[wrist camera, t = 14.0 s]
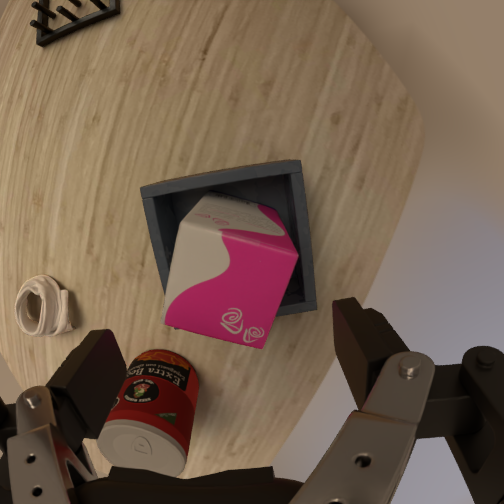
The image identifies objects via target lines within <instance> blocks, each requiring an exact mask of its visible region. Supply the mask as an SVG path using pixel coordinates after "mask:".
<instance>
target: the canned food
mask: <svg viewBox="0 0 504 504" xmlns="http://www.w3.org/2000/svg"><path fill="white" fill-rule="evenodd" d="M198 391H199V383H198V378H197V375H196V372H195V370H194V369H193V367H192V366H191V365H190V363H189V362H188V361H187V360H185V359H184V358H183V357H181V356H179V355H178V354H176V353H173V352H170V351H166V350H156V349H155V350H149V351H146V352H144V353H142V354H141V355H139V356H138V357H136V358H135V359H134V360H133V361H132V363H131V364H130V366H129V368H128V370H127V376H126V379H125V381H124V384H123V386H122V388H121V390H120V392H119V394H118V396H117V398H116V400H115V403H114V405H113V407H112V409H111V411H110V413H109V416H108V418H107V420H106V422H105V424H104V427H103V429H102V431H101V433H100V435H99V438H98V439H96V442H97V446H98V448H99V450H100V452H101V453H102V455H103V456H104V457H105V458H106V459H107V460H108V461H109V462H110V463H111V464H113V465H114V466H116V467H125V468H136V469H147V470H150V471H154V472H157V473H161V474H164V475H168V476H172V477H177V476H179V475H180V474H181V473H182V472H183V470H184V468H185V464H186V462H187V456H188V451H189V445H190V439H191V433H192V427H193V421H194V415H195V409H196V403H197V397H198Z"/></svg>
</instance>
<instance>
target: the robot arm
mask: <svg viewBox="0 0 504 504" xmlns="http://www.w3.org/2000/svg"><path fill="white" fill-rule="evenodd" d="M332 311H333V334H334V346H335V351H336V355H337V358H338V360H339V363H340V365H341V368H342V370H343V372H344V375H345V377H346V380H347V382H348V385H349V387H350V390H351V392H352V395H353V397H354V400H355V402H356V405H357V407H358V410H354V411H352V412H351V414H350V415H349V416H348V418H347V420H346V421H345V423H344V425H343V426H342V428H341V430H340V431H339V433H338V434H337V436H336V438H335V439H334V441H333V442H332V444H331V445H330V447H329V448H328V450H327V451H326V453H325V454H324V456H323V457H322V459H321V460H320V462H319V463H318V465H317V466H316V468H315V469H314V471H313V472H312V473H311V475H310V476H309V478H308V479H307V480H306V482H305V483H302V482H299V481H295V480H290V479H284V478H275V475H274V471H273V467H272V466H270V467H261V468H250V469H237V470H227V471H223V472H219V473H214V474H210V475H205V476H201V477H196V478H191V479H180V478H176V477H172V476H168V475H164V474H161V473H157V472H154V471H150V470H147V469H136V468H125V467H116V466H112V467H111V470H110V473H109V476H108V477H104V478H98V476H97V474H96V471H95V469H94V466H93V464H92V461H91V459H90V456H89V454H88V451H87V448H86V446H85V445H84V444H83V442H82V441H83V439H84V438H89V439H98V438H99V435H100V433H101V431H102V429H103V427H104V424H105V422H106V420H107V418H108V416H109V413H110V411H111V409H112V407H113V405H114V403H115V400H116V398H117V396H118V394H119V392H120V390H121V388H122V386H123V384H124V381H125V379H126V376H127V368H126V364H125V361H124V359H123V356H122V354H121V351H120V349H119V346H118V344H117V341H116V339H115V336H114V334H113V332H112V331H111V330H110V329H102V330H91V331H90V332H89V333H88V335H87V336H86V337H85V338H84V340H83V341H82V342H81V344H80V345H79V346H77V347H76V348H75V349H73V350H72V351H71V352H70V354H69V355H68V356H67V358H66V360H64V361H63V363H62V364H61V367H59V368H58V369H57V371H56V372H55V373H54V375H53V376H52V377H51V379H50V380H49V381H48V383H47V384H46V386H34V387H31V388H29V389H27V390H25V391H24V392H23V393H22V394H21V395H20V396H19V397H18V399H17V401H16V403H14V404H7V405H5V403H4V402H3V400H2V399H1V397H0V450H1V451H2V452H3V455H2V457H1V459H0V504H390V503H391V501H392V499H393V496H394V494H395V492H396V489H397V487H398V485H399V483H400V480H401V478H402V476H403V473H404V471H405V469H406V466H407V464H408V461H409V459H410V456H411V454H412V451H413V448H414V445H415V443H416V440H417V439H421V438H434V437H445V439H446V441H447V443H448V445H449V447H450V450H451V452H452V454H453V456H454V458H455V460H456V462H457V464H458V466H459V469H460V471H461V473H462V475H463V477H464V480H465V482H466V484H467V486H468V489H469V491H470V494H471V496H472V498H473V501H474V503H475V504H504V354H503V353H502V352H501V351H499V350H498V349H496V348H493V347H489V346H477V347H473V348H471V349H469V350H468V351H467V352H465V354H464V356H463V359H462V364H452V365H435V364H434V362H433V361H432V359H431V358H429V357H428V356H427V355H424V354H422V353H419V352H412V351H410V350H409V349H408V347H407V346H406V345H405V343H404V342H403V341H402V339H401V338H400V337H399V335H398V334H397V333H396V331H395V330H393V327H392V326H391V325H390V323H388V321H387V320H386V318H385V317H384V316H383V314H382V313H379V312H378V311H376V310H374V309H372V308H368V309H363V308H362V307H361V305H360V304H359V303H358V301H357V300H356V298H355V297H351V298H345V299H340V300H334V301H333V303H332Z"/></svg>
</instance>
